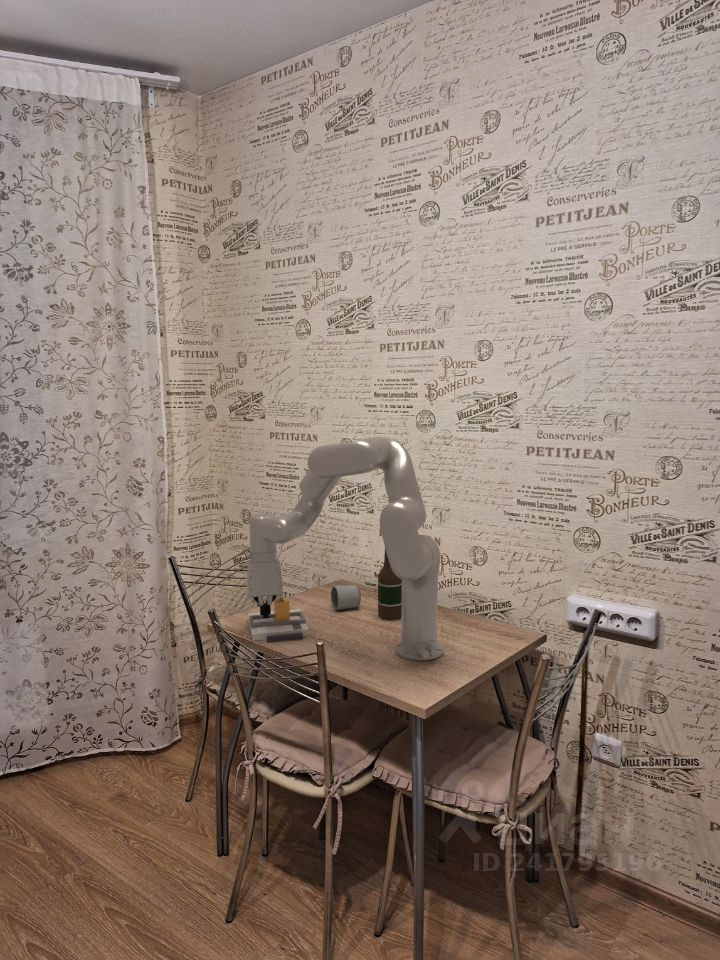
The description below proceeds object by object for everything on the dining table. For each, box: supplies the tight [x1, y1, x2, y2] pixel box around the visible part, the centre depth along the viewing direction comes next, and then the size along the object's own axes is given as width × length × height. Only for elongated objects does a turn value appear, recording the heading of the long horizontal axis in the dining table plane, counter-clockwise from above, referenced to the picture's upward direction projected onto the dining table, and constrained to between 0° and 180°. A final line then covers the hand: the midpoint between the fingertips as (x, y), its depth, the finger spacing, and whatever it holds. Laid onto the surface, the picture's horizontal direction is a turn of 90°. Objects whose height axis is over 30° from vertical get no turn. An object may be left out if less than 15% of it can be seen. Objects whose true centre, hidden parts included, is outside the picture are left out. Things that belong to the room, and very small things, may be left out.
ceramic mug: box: [330, 584, 362, 611], centre depth 220 cm, size 11×8×8 cm
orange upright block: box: [273, 596, 290, 621], centre depth 201 cm, size 4×4×6 cm
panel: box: [247, 608, 310, 642], centre depth 202 cm, size 18×16×3 cm
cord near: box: [266, 633, 304, 643], centre depth 192 cm, size 1×10×1 cm, turn 103°
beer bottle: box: [377, 548, 402, 621], centre depth 209 cm, size 8×8×24 cm
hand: (265, 616), depth 201 cm, fingers closed
